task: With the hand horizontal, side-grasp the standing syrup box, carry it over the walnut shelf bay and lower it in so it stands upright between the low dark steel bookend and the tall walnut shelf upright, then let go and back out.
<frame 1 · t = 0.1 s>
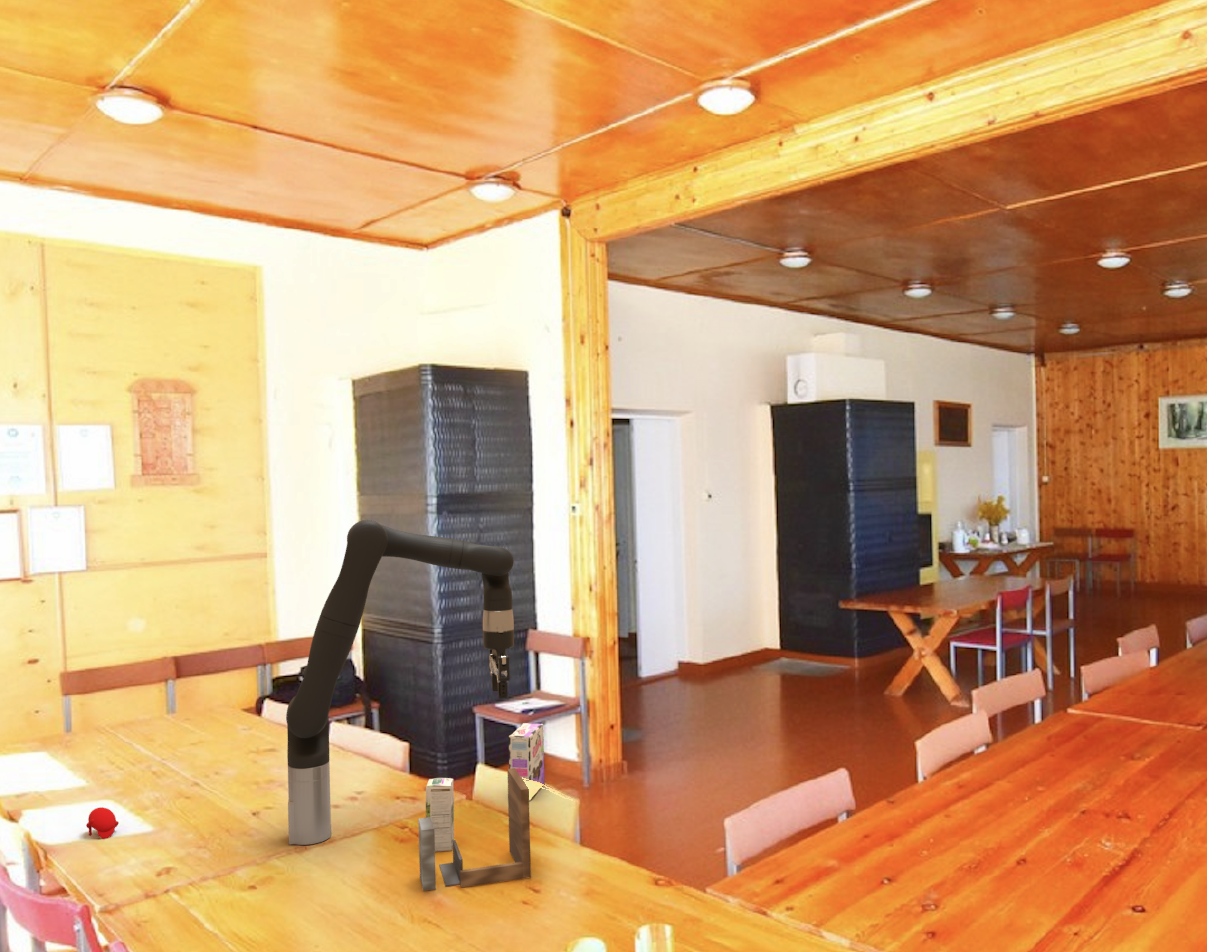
hand: (499, 694, 229), 29 cm above the table, tool pointing down, fingers open, 8 cm apart
cap: (102, 835, 222), on the table
candy box: (527, 792, 245), on the table
syrup box: (440, 847, 209), on the table
shelf: (488, 869, 196), on the table
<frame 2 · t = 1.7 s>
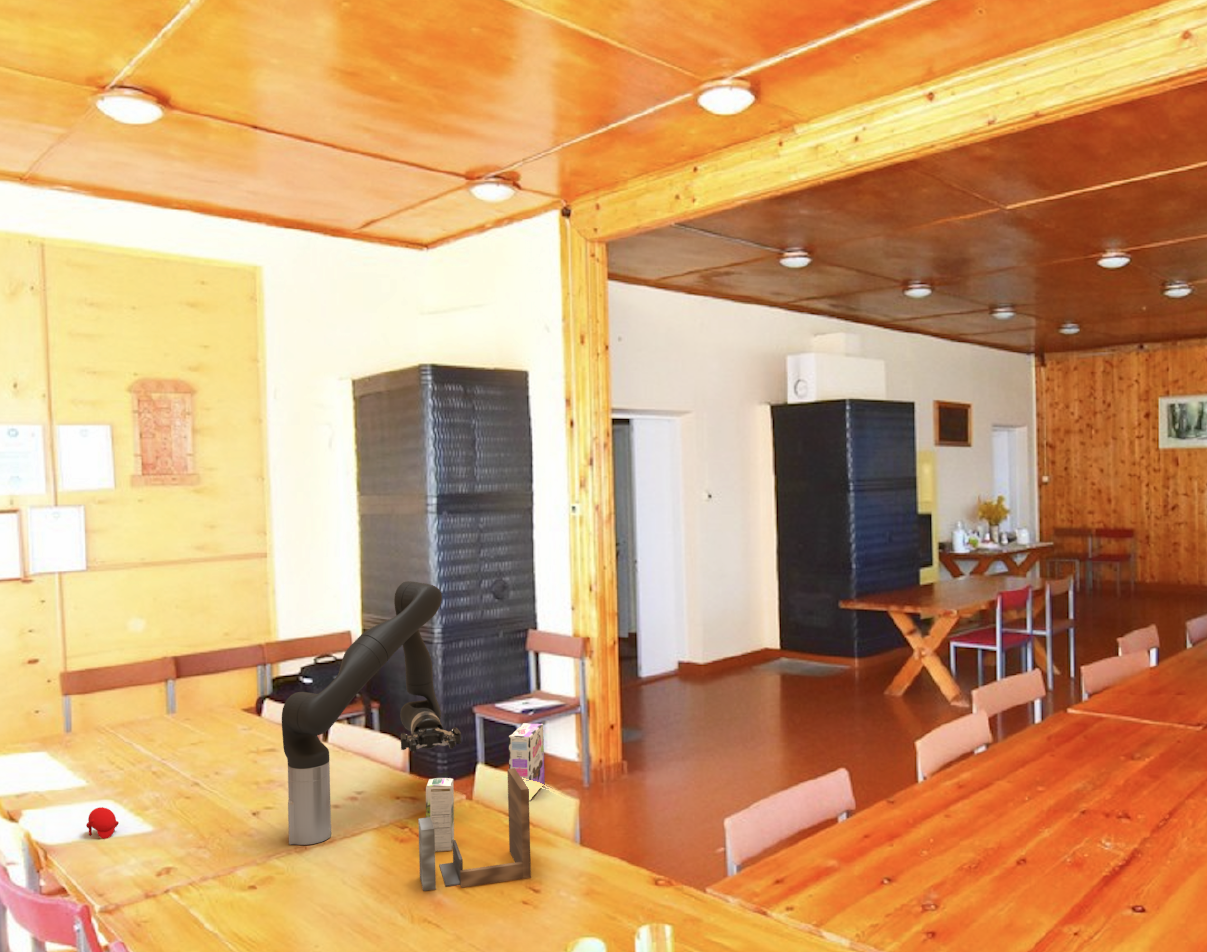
hand: (433, 746, 220), 19 cm above the table, tool horizontal, fingers open, 8 cm apart
nothing on the table moved.
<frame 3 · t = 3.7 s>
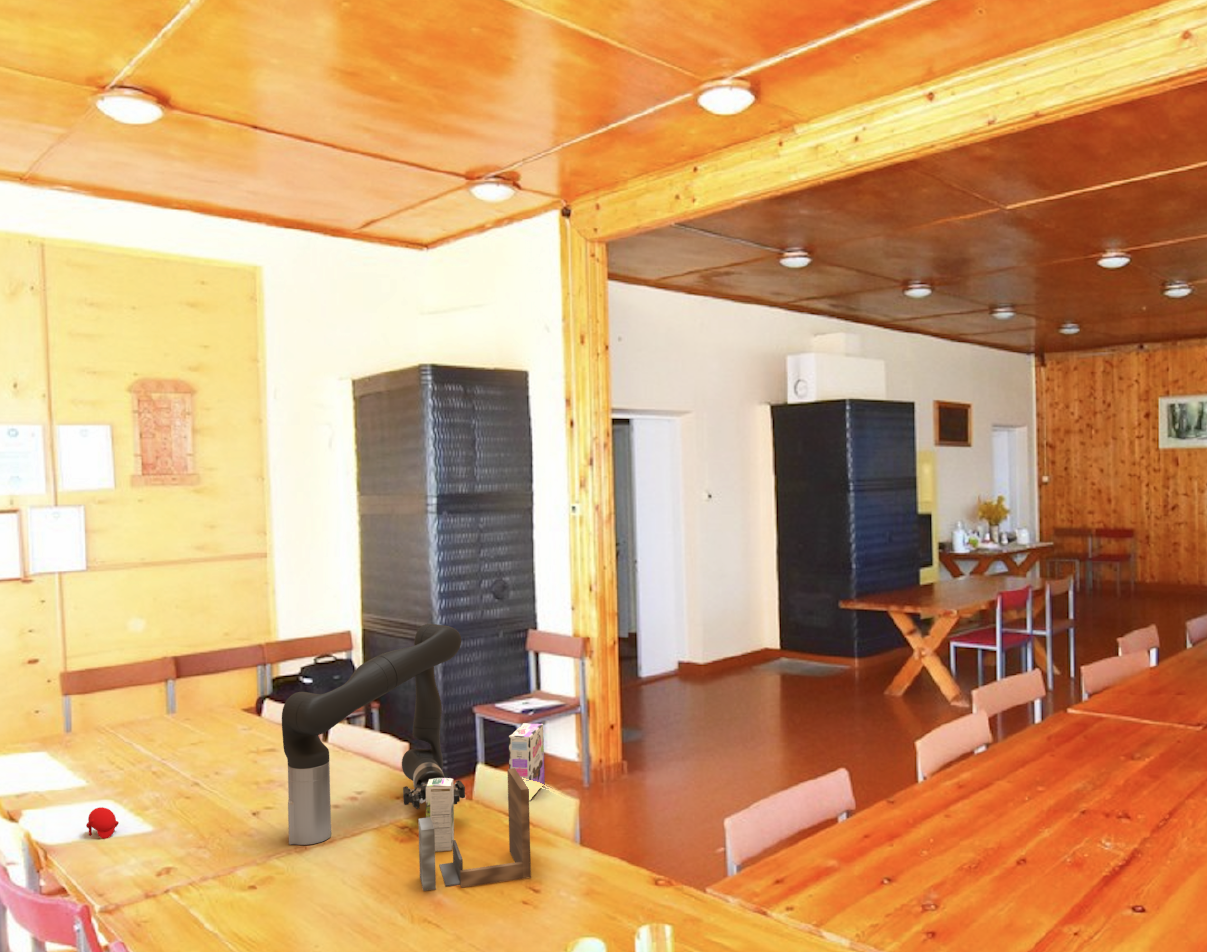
hand: (437, 802, 215), 8 cm above the table, tool horizontal, fingers open, 8 cm apart
nothing on the table moved.
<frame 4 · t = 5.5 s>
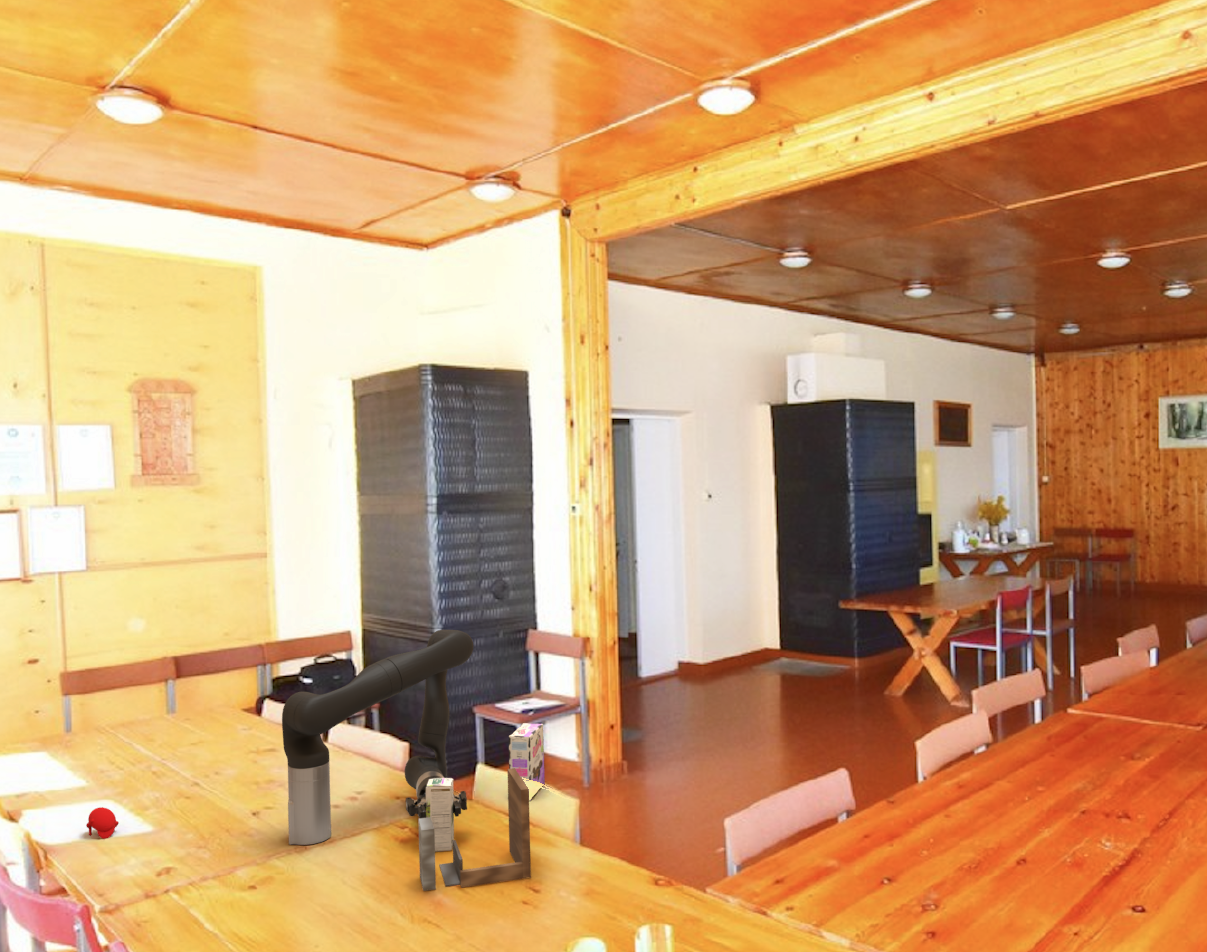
hand: (440, 814, 207), 8 cm above the table, tool horizontal, fingers closed on syrup box, 6 cm apart
syrup box: (440, 847, 209), on the table, touching gripper
everything else where it was.
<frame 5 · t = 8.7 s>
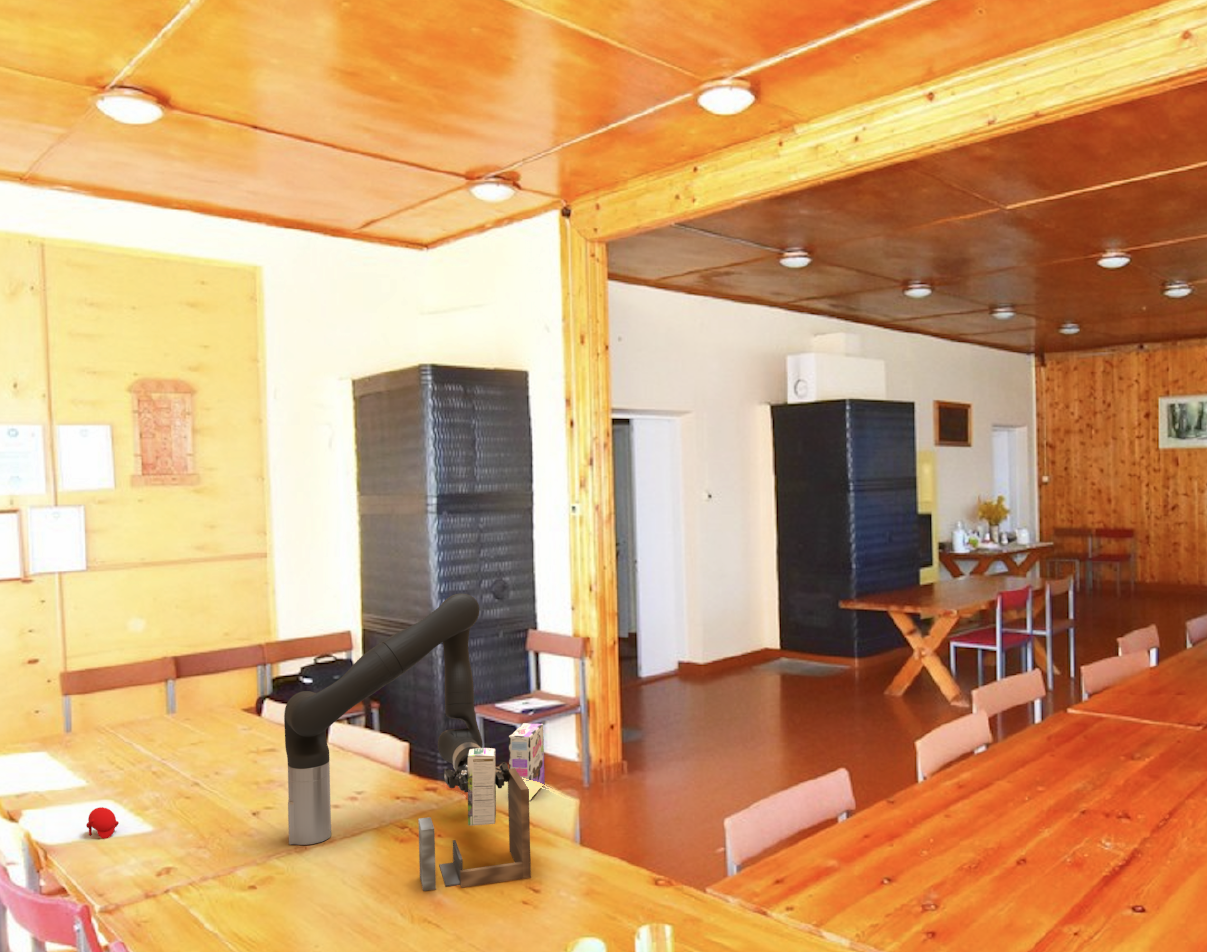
hand: (483, 785, 195), 18 cm above the table, tool horizontal, fingers closed on syrup box, 6 cm apart
syrup box: (482, 821, 198), point 9 cm above the table, touching gripper
everything else where it was.
when the fingers open (9 cm above the table, at t = 11.7 s): syrup box stays where it is, on the table.
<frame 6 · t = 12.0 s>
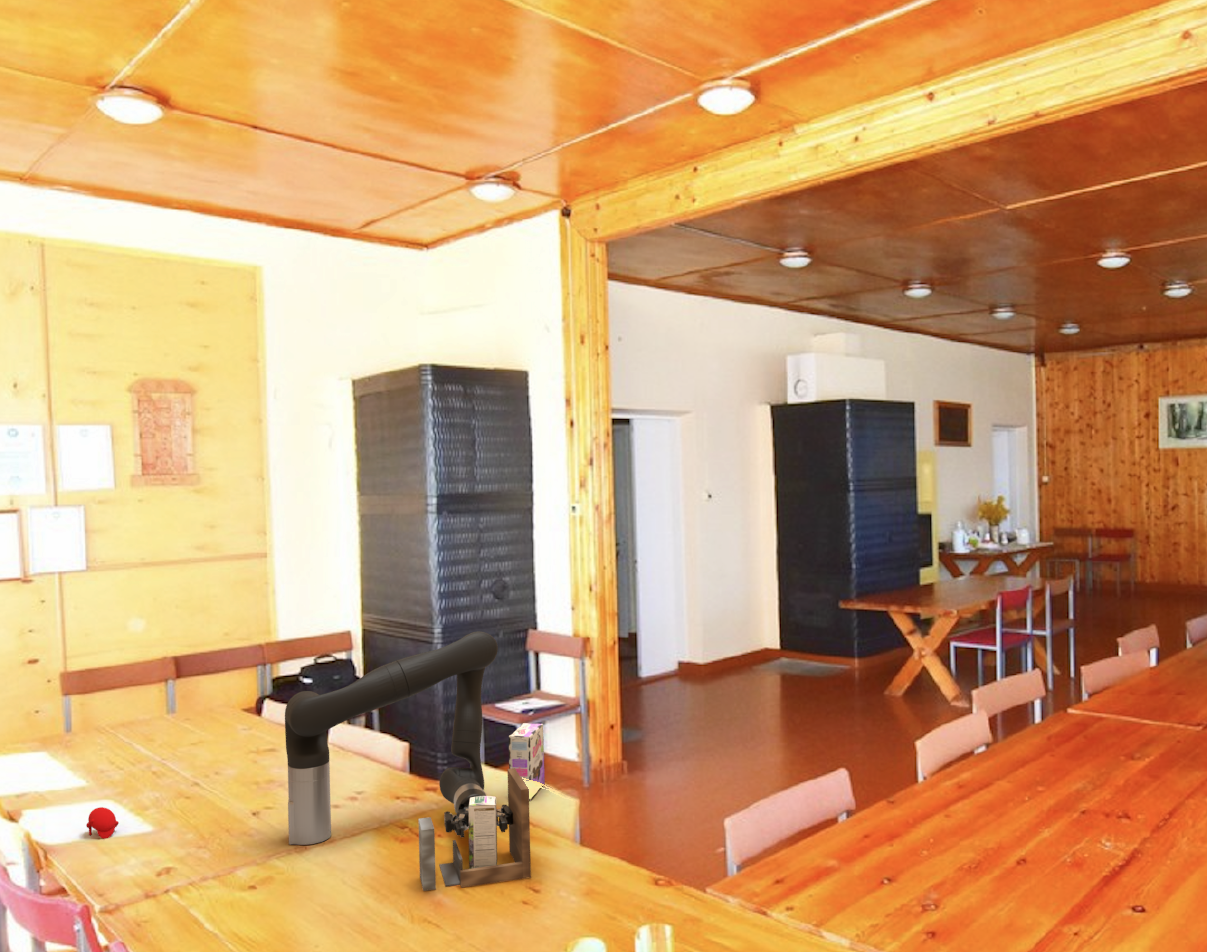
hand: (483, 830, 194), 9 cm above the table, tool horizontal, fingers open, 8 cm apart
syrup box: (483, 870, 196), on the table
everything else where it was.
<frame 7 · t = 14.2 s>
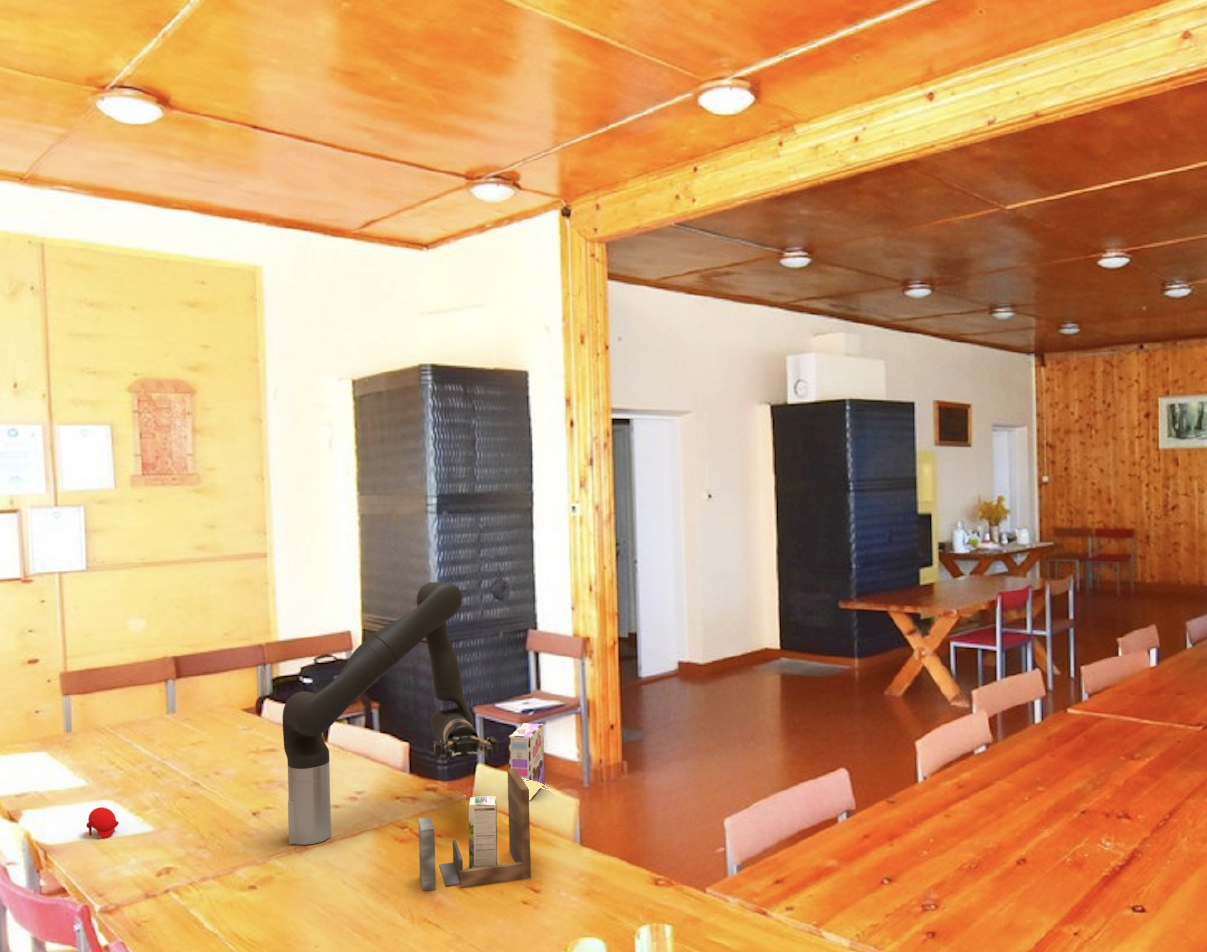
hand: (469, 754, 209), 20 cm above the table, tool horizontal, fingers open, 8 cm apart
nothing on the table moved.
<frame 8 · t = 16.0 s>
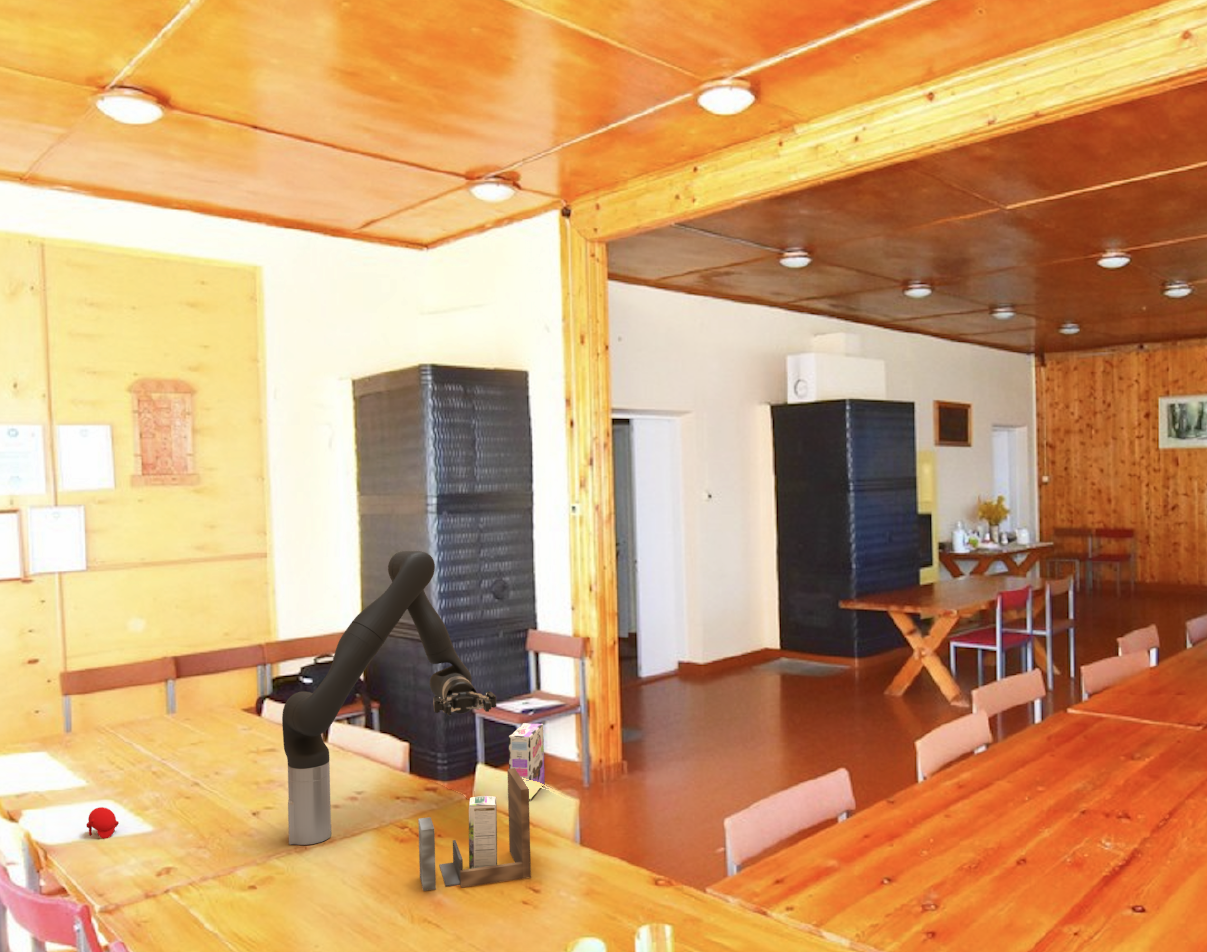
hand: (468, 708, 211), 30 cm above the table, tool horizontal, fingers open, 8 cm apart
nothing on the table moved.
at the end: syrup box inside the target area (0.8 cm from its centre), on the table; syrup box tilted 0°; the gripper is holding nothing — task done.
